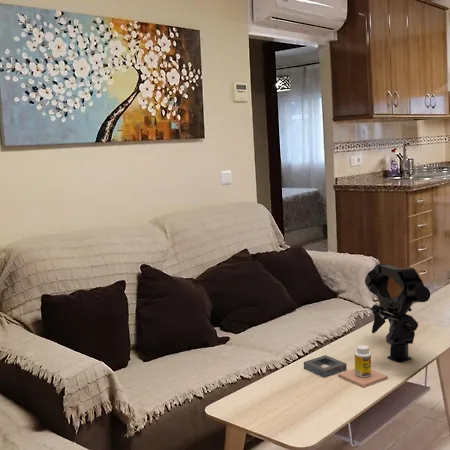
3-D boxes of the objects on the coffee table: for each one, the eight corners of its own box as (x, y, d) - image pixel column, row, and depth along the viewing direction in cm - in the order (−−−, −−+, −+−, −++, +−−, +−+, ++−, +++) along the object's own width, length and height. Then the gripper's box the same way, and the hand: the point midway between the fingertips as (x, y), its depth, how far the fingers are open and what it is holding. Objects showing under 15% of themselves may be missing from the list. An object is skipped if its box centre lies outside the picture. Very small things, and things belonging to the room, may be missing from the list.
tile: (362, 368, 217) (362, 365, 217) (387, 378, 207) (387, 376, 207) (338, 376, 211) (338, 374, 210) (363, 387, 201) (363, 384, 201)
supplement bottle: (363, 379, 205) (363, 351, 204) (351, 374, 210) (351, 346, 208) (374, 375, 208) (374, 347, 207) (362, 370, 213) (362, 343, 211)
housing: (325, 361, 225) (325, 355, 225) (346, 370, 216) (346, 363, 216) (303, 368, 219) (303, 361, 219) (324, 377, 210) (324, 371, 210)
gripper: (374, 283, 219) (351, 317, 215) (412, 293, 203) (388, 330, 199) (390, 300, 224) (368, 334, 220) (428, 312, 208) (405, 348, 204)
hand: (381, 336), depth 211 cm, fingers open, 9 cm apart
